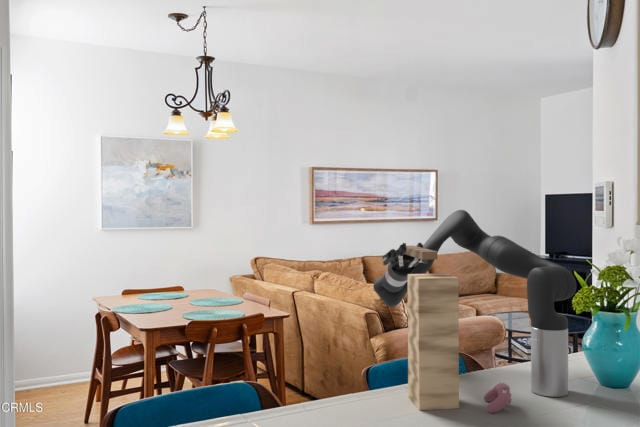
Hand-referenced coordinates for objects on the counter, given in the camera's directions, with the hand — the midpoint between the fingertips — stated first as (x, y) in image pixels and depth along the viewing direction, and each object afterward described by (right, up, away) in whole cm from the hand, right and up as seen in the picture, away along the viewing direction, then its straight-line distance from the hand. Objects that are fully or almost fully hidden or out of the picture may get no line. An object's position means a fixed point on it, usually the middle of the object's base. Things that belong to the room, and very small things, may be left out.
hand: (412, 245), depth 170 cm
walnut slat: (+1, -2, -5) cm, 5 cm away
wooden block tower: (+3, -39, -17) cm, 42 cm away
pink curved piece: (+18, -39, -21) cm, 47 cm away
